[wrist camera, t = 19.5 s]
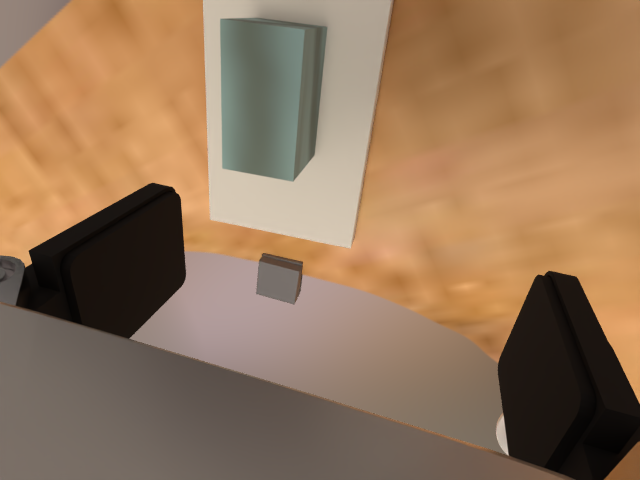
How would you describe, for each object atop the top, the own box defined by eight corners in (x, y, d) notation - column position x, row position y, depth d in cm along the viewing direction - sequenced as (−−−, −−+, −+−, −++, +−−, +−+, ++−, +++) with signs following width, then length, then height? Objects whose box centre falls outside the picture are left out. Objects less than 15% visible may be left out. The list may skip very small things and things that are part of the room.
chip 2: (302, 266, 40) (299, 271, 39) (297, 298, 42) (294, 304, 41) (262, 255, 40) (259, 261, 39) (259, 288, 42) (256, 293, 41)
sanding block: (327, 26, 28) (304, 29, 23) (314, 155, 32) (293, 181, 27) (257, 17, 29) (220, 18, 24) (254, 144, 33) (222, 168, 28)
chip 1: (298, 296, 42) (300, 291, 43) (301, 263, 40) (304, 258, 41) (260, 287, 42) (263, 282, 43) (262, 254, 40) (265, 249, 41)
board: (410, -100, 26) (409, -108, 24) (354, 237, 37) (350, 248, 36) (213, -116, 27) (199, -125, 26) (219, 210, 39) (210, 219, 38)
